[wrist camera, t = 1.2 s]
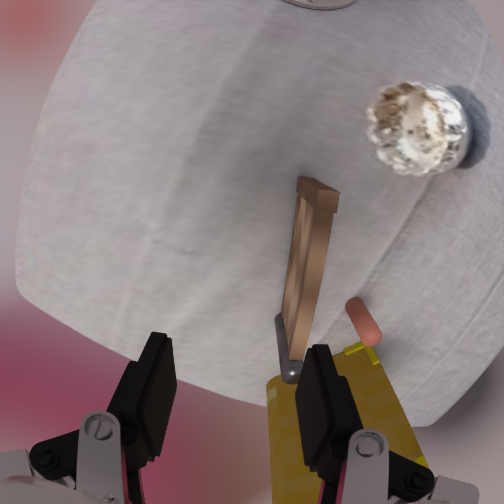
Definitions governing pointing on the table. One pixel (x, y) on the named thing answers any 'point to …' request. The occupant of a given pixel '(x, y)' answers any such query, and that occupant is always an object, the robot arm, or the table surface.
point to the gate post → (286, 355)
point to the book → (370, 410)
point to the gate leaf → (307, 260)
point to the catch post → (363, 322)
